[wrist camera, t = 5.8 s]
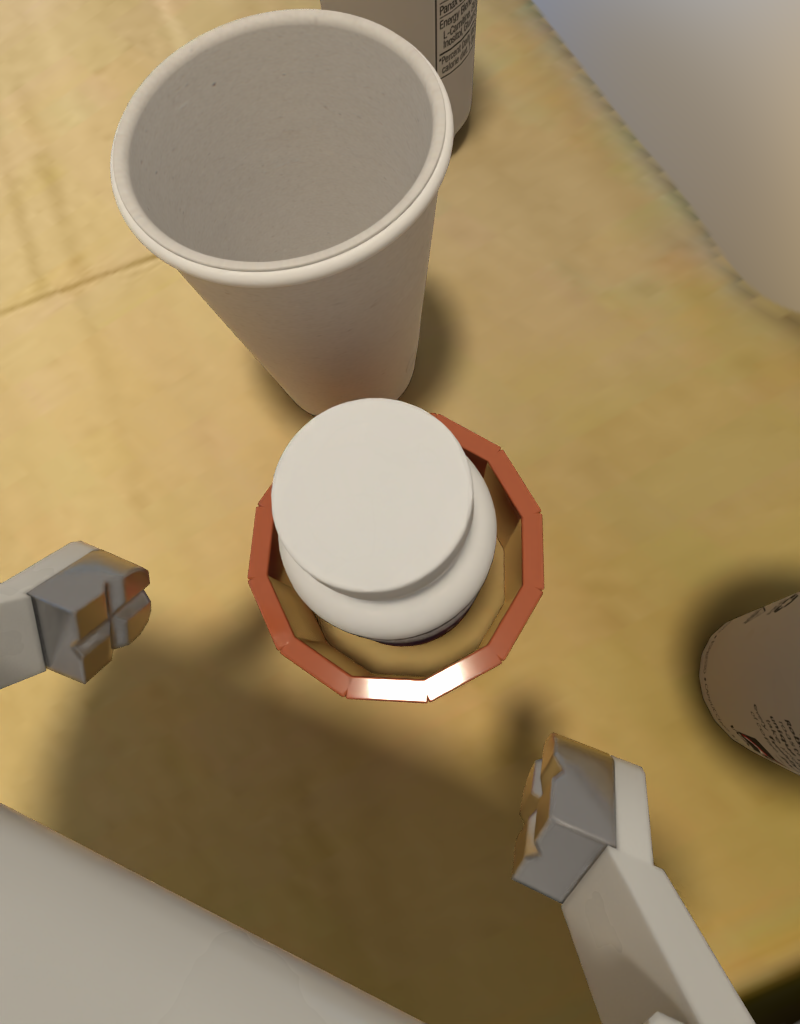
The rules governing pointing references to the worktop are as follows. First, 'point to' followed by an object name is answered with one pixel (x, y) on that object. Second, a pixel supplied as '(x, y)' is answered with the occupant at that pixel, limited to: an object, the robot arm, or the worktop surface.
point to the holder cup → (522, 592)
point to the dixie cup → (295, 192)
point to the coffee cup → (758, 680)
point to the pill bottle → (383, 521)
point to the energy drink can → (429, 38)
